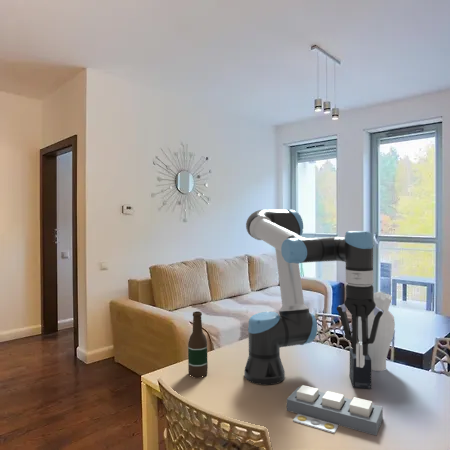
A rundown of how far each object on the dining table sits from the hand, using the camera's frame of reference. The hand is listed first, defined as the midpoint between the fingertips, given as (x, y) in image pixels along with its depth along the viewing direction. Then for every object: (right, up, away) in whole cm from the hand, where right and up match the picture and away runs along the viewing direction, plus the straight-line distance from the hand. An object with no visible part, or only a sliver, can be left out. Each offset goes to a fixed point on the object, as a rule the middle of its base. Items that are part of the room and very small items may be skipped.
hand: (360, 365), depth 106 cm
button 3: (0, -13, 0) cm, 13 cm away
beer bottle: (-50, -17, +35) cm, 63 cm away
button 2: (-7, -13, +4) cm, 16 cm away
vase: (+20, -16, +39) cm, 47 cm away
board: (-6, -17, +4) cm, 18 cm away
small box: (+10, -16, +26) cm, 32 cm away
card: (-13, -17, -1) cm, 21 cm away
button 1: (-13, -13, +9) cm, 21 cm away
